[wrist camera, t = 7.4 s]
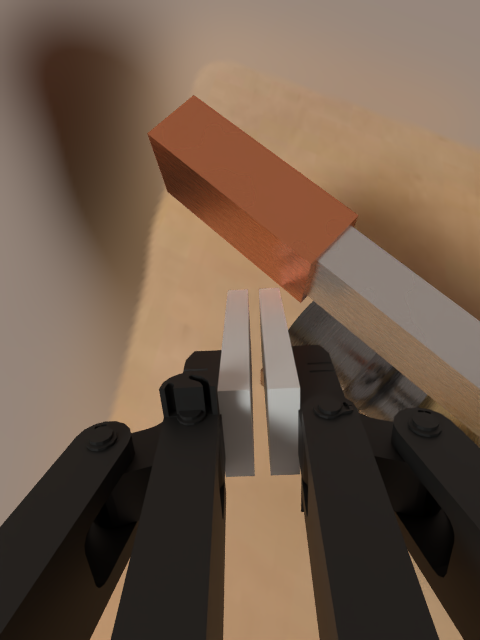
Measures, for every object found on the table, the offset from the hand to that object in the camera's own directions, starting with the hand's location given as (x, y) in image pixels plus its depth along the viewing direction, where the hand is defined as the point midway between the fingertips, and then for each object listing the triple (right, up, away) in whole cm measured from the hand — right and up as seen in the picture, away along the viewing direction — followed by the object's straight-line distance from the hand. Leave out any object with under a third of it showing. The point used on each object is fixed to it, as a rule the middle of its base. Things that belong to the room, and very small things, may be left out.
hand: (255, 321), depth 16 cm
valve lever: (+4, 0, -1) cm, 4 cm away
